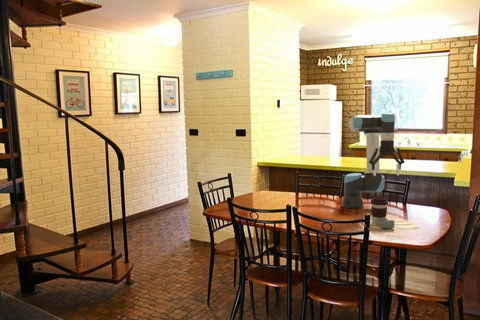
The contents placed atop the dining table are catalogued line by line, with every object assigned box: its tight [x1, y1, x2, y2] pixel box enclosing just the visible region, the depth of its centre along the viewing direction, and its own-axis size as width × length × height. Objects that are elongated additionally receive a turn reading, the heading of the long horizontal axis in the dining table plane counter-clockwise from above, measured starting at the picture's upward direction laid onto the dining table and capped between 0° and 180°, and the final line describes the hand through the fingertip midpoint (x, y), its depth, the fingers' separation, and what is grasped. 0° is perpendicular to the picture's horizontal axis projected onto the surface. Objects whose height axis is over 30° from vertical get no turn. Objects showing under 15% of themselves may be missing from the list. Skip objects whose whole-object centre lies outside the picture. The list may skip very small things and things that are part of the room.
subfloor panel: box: [360, 219, 420, 231], centre depth 234 cm, size 18×28×2 cm, turn 91°
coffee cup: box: [370, 196, 389, 224], centre depth 236 cm, size 10×10×15 cm
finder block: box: [379, 217, 395, 230], centre depth 227 cm, size 5×7×5 cm
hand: (386, 175), depth 237 cm, fingers open, 13 cm apart
